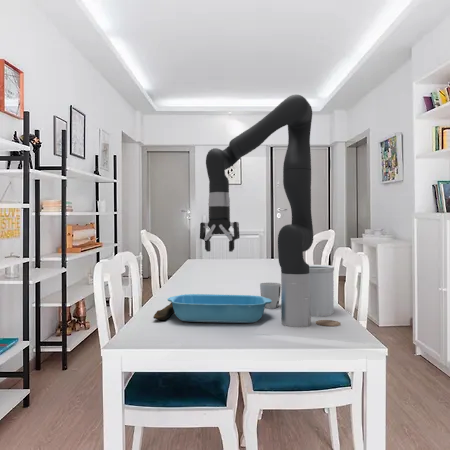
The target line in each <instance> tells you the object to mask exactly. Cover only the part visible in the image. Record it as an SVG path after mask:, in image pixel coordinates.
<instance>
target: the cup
mask: <svg viewBox="0 0 450 450" xmlns="http://www.w3.org/2000/svg"><path fill="white" fill-rule="evenodd" d="M259 288H260V289H259V290H260V296H262V297H265V298H269V299H271V301H272V302H271V303H269V304H266V305H265V308H264V309H278V308H279V305H280V300H281V282H260V283H259Z"/></svg>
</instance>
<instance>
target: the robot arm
mask: <svg viewBox="0 0 450 450" xmlns="http://www.w3.org/2000/svg"><path fill="white" fill-rule="evenodd" d="M312 121H313V108H312V106H311V104H310V102H309V101H308V100H307V99H306V97H305V96H303V95H302V94H291V95H289V96H287V97H286V98H285V99H283V100H282V101H281V102H280V103H279V104H278V105H277V106H276V107H275V108H274V109H273V110H272V111H270V112H269V113H267V114H266V115H265V116H264V117H262V118H261V119H260V120H259V121H258V122H257V123H255V124H253V125H252V126H250V127H249V128H248V129H246V130H244V131H243V132H241V133H239V134H238V135H237V136H235V137H234V138H232V139H231V140H230V141H229V143H228V146H227V147H225V149H220V148H217V147H216V148H211V149H210V150H208V151H207V154H206V156H205V167H206V171H207V172H206V173H207V177H208V181H209V183H208V192H209V193H208V203H207V204H208V222H200V225H199V226H200V227H199V240H203V241H204V250H205V251H206V252H211V250H212V249H211V239H212V237H214V236H215V235H224V236H226V238H227V239H228V240H229V241H228V252H229V253H231V252H232V253H233V251H234V250H235V241H237V240H238V239H240V223H239V222H238V221H234V222H231V213H230V212H231V209H230V207H231V205H230V204H231V203H230V202H231V199H230V198H231V197H230V188H229V187H230V184H229V183H230V182H229V181H230V180H229V178H228V177H227V175H226V170H228V169H230V168H231V167H232V166H234V165H235V164H236V163H237V162H239V160H240V159H241V158H242V157H244V156H246V155H247V154H249V153H251V152H253V151H255V150H256V149H257V148H259V147H260V146H261V145H262V144H263V143H264V142H265V141H266V140H267V139H268V138H270V136H271V135H273V134H274V133H275V132H277V131H278V130H280V129H281V128H283V127H285V126H287V133H288V140H287V148H286V152H285V155H284V161H283V166H282V168H283V169H282V183H283V184H282V185H283V189H284V192H285V195H286V198H287V200H288V203H289V207H290V209H291V224H285V225H283V226H282V227H281V228H280V229H279V232H278V234H277V253H278V254H277V256H278V257H277V258H278V265H279V267H280V281H281V282H280V284H281V292H280V300H281V301H280V304H281V305H280V307H281V311H280V312H281V313H280V314H281V315H280V316H281V317H280V319H281V320H280V321H281V322H280V323H281V325H282V326H284V327H289V328H309V326H311V324H312V316H311V296H310V286H309V265H310V264H309V263H307V262H306V261H305V260H304V252H307V251H308V250H310V248H311V247H312V246H313V242H314V227H313V226H314V225H313V218H312V217H313V216H312V159H311V158H312V155H311V153H312V152H311V130H312V123H313V122H312ZM207 228H208V229H209V230H208V232H207V233H206V231H207ZM230 228H232V229H233V234H232V232H231V230H230Z"/></svg>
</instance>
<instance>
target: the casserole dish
mask: <svg viewBox="0 0 450 450" xmlns="http://www.w3.org/2000/svg"><path fill="white" fill-rule="evenodd" d="M167 301H168V302H169V303H171V302H172V305H173V309H174V315H175V316H176V317H177V318H178V319H179V321H182V322H193V323H229V324H230V323H231V324H232V323H234V324H235V323H237V324H238V323H239V324H240V323H241V324H242V323H243V324H247V323H248V324H249V323H257V322H258V321H259V320H260V319H262V317H263V315H264V311H265V309H266V308H265V305H266V304H269V303H271V302H272V301H271V299H269V298H265V297H262V296H261V295H251V294H250V295H249V294H248V295H247V294H213V293H212V294H207V293H205V294H203V293H201V294H200V293H197V294H196V293H190V294H189V293H187V294H186V293H185V294H179V295H174V296H170V297H168V298H167Z"/></svg>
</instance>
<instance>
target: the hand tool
mask: <svg viewBox="0 0 450 450" xmlns="http://www.w3.org/2000/svg"><path fill="white" fill-rule="evenodd" d="M173 314H175V312H174V309H173V305H172V302H169V305H166V306H165V307H164V308H162V309H160V310H157V311H156V312H155V314H154V315H153V317H152V318H153V319H154V320H163V321H164V320H168V319H170V317H171V315H173Z"/></svg>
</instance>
